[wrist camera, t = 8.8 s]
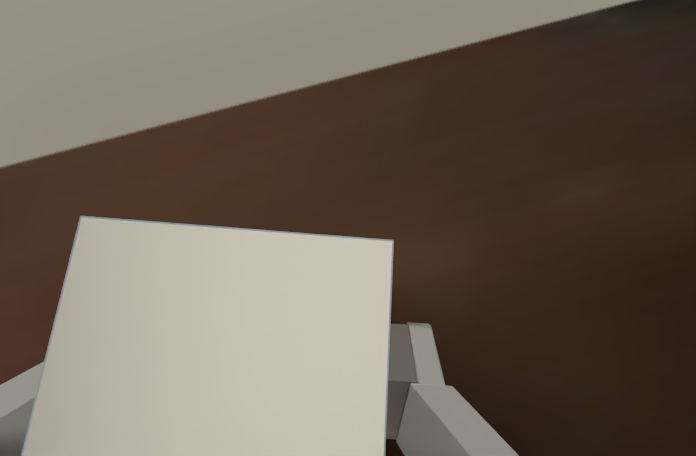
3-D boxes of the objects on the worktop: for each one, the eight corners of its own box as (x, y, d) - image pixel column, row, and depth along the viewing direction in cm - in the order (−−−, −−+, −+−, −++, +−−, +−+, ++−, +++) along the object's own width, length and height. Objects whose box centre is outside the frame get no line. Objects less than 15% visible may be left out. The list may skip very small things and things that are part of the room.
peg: (343, 410, 14) (379, 612, 4) (229, 403, 14) (-13, 594, 4) (350, 295, 15) (393, 240, 5) (244, 288, 15) (81, 215, 5)
